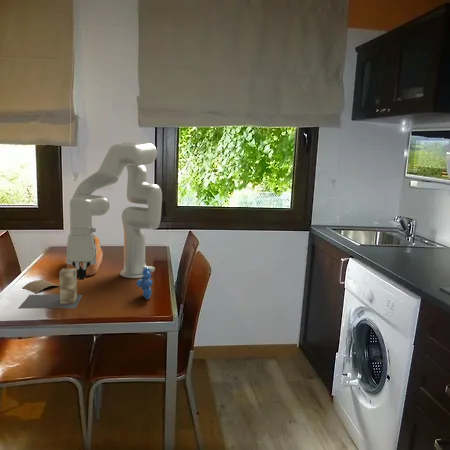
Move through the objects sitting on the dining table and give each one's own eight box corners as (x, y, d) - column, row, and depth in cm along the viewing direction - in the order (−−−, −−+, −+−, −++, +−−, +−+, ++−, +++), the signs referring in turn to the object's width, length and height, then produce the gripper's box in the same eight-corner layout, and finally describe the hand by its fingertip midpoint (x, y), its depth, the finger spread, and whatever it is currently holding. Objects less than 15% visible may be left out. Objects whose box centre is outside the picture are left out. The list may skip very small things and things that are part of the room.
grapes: (135, 292, 179) (135, 264, 177) (151, 291, 181) (152, 263, 178) (136, 303, 168) (136, 272, 166) (154, 302, 170) (154, 272, 167)
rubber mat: (83, 295, 173) (83, 294, 173) (75, 309, 159) (75, 308, 159) (29, 295, 170) (29, 294, 170) (17, 309, 156) (17, 308, 156)
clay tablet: (48, 282, 188) (48, 276, 187) (64, 287, 183) (64, 281, 182) (17, 291, 176) (17, 285, 175) (33, 297, 171) (33, 290, 170)
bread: (103, 261, 222) (103, 232, 219) (96, 277, 196) (95, 244, 194) (76, 261, 220) (75, 231, 217) (64, 277, 194) (64, 243, 192)
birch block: (76, 298, 168) (76, 268, 166) (74, 303, 163) (73, 272, 161) (63, 298, 168) (62, 268, 165) (60, 303, 163) (59, 272, 160)
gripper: (103, 229, 166) (103, 276, 169) (62, 228, 164) (63, 276, 167) (100, 233, 158) (100, 282, 162) (57, 233, 156) (58, 282, 160)
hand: (81, 278), depth 164 cm, fingers closed
